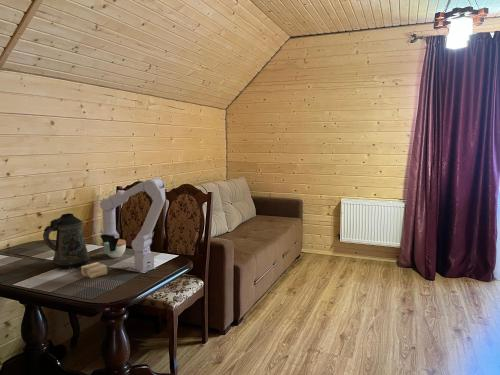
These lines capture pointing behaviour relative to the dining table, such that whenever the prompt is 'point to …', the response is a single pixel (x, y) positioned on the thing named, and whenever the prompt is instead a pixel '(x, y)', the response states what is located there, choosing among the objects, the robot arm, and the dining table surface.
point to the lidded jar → (119, 249)
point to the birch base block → (94, 270)
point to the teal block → (108, 249)
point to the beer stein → (67, 242)
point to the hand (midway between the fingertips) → (110, 249)
